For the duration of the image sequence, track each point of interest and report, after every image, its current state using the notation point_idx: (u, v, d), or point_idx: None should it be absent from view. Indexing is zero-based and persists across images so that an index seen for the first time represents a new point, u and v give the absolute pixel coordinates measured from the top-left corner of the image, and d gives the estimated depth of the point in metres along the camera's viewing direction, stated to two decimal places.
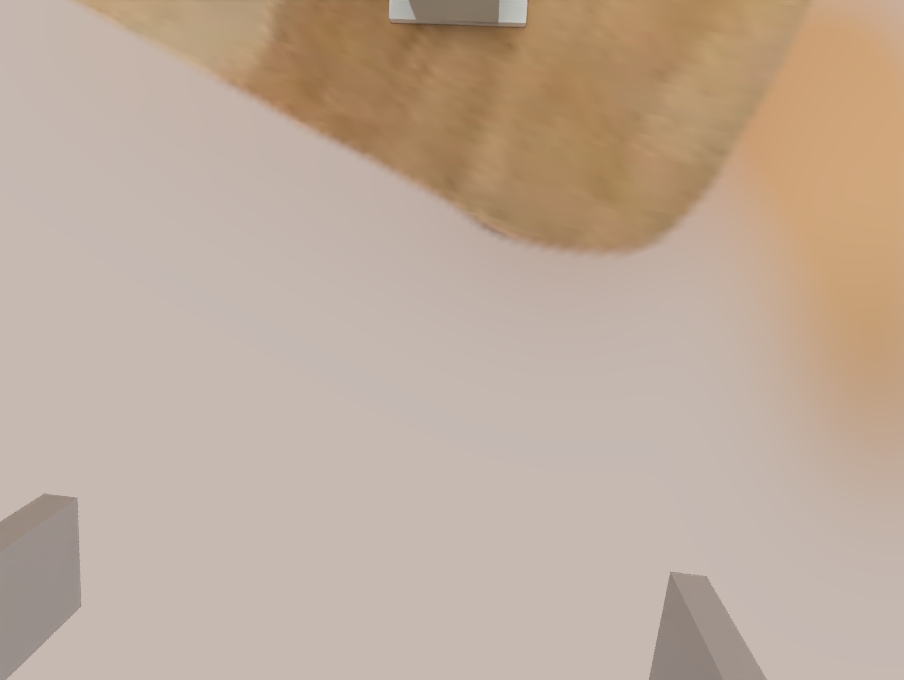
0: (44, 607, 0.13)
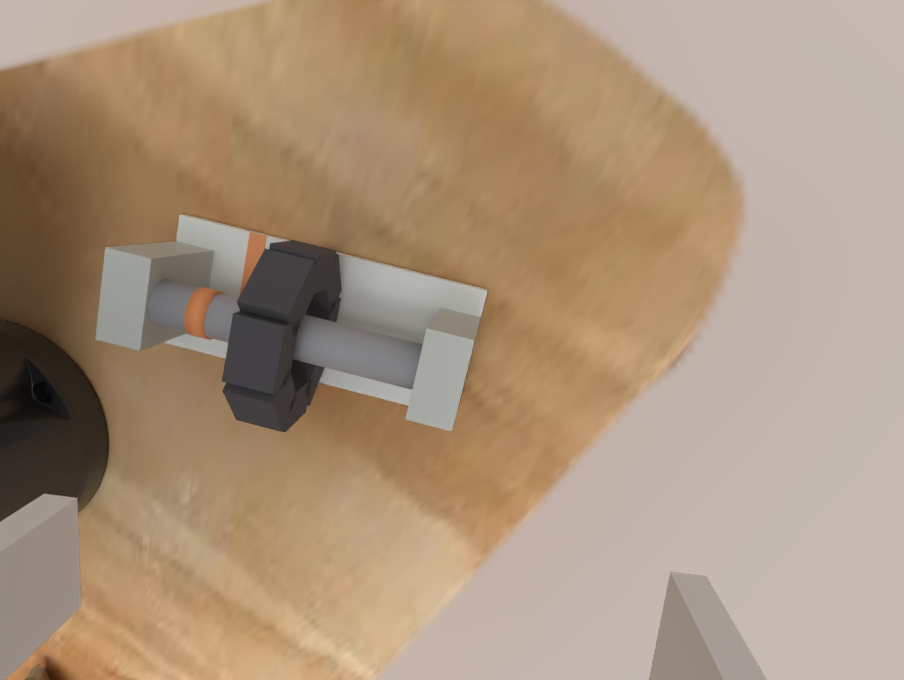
0: (44, 607, 0.13)
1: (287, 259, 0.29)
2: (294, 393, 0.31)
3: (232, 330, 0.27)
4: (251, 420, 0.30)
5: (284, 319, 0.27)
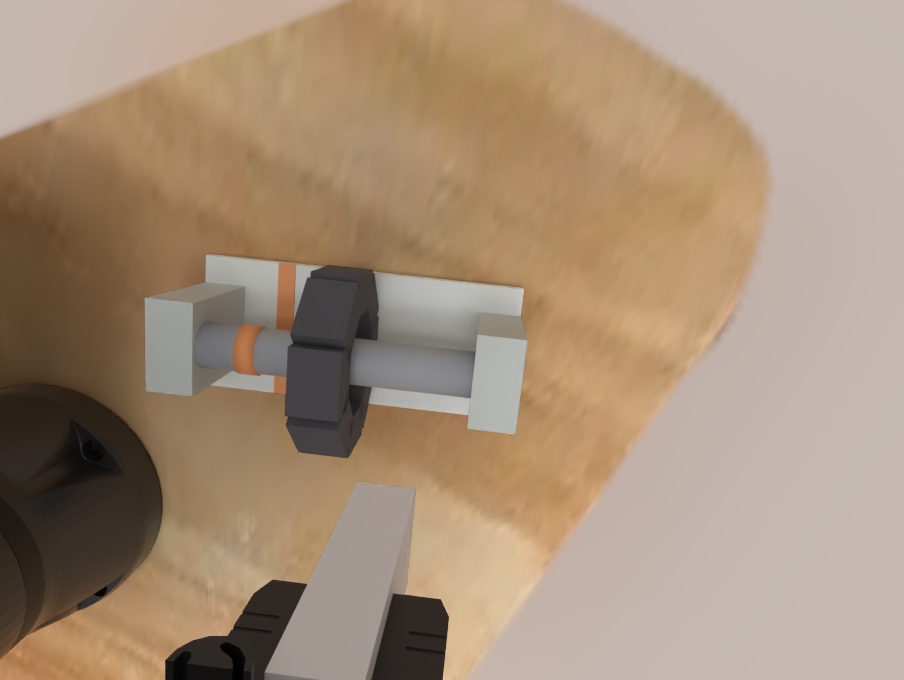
0: None
1: (332, 285, 0.28)
2: (352, 417, 0.31)
3: (289, 363, 0.27)
4: (314, 450, 0.30)
5: (339, 346, 0.27)
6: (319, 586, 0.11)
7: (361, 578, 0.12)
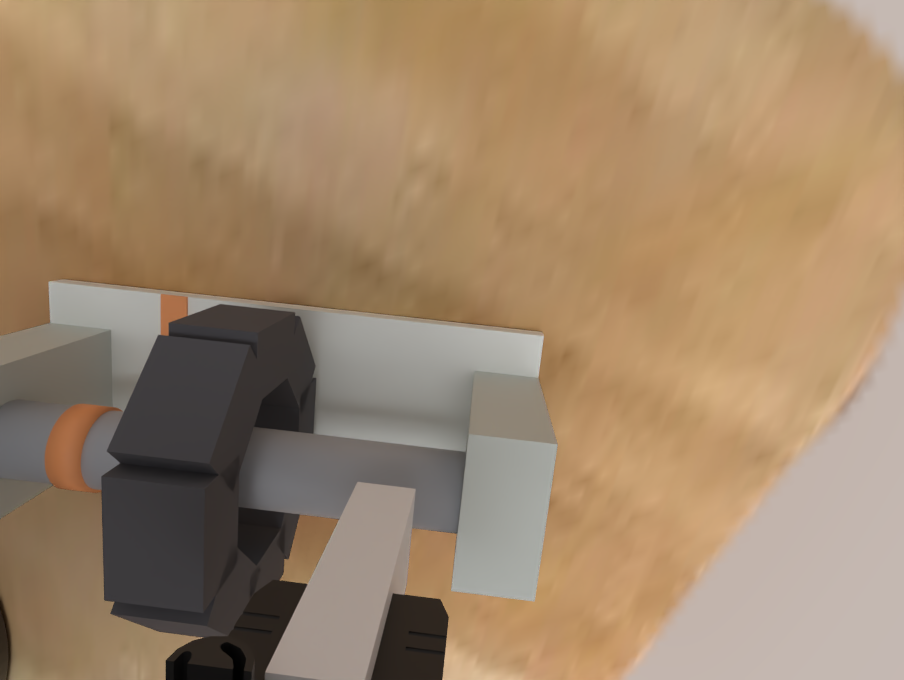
0: None
1: (201, 349, 0.16)
2: (254, 568, 0.18)
3: (106, 507, 0.14)
4: (183, 633, 0.17)
5: (205, 470, 0.14)
6: (319, 586, 0.11)
7: (361, 578, 0.12)
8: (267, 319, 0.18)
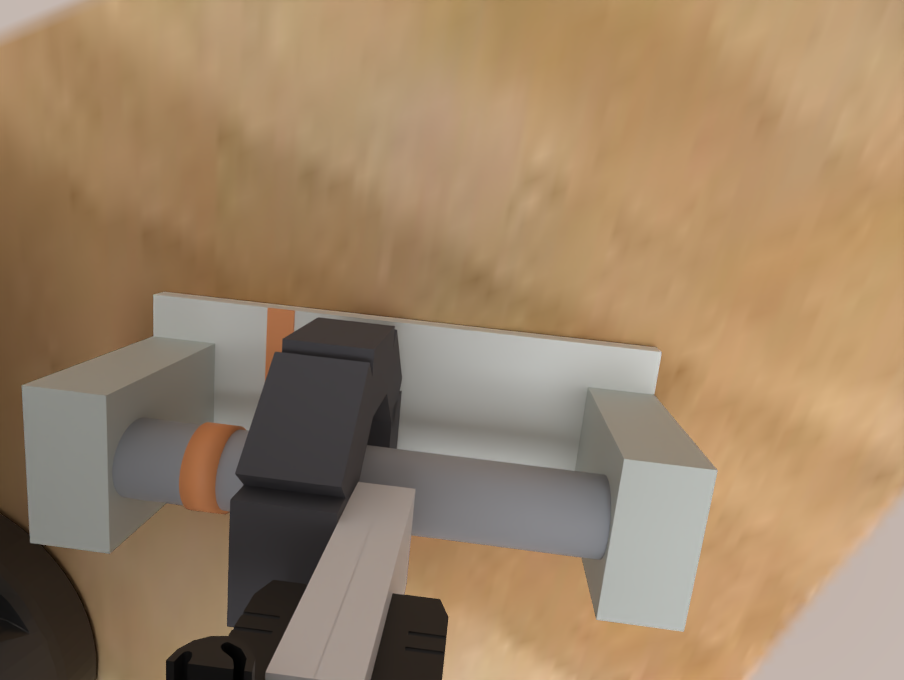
0: None
1: (321, 368, 0.15)
2: None
3: (234, 531, 0.14)
4: None
5: (332, 493, 0.14)
6: (319, 586, 0.11)
7: (361, 578, 0.12)
8: (373, 334, 0.17)
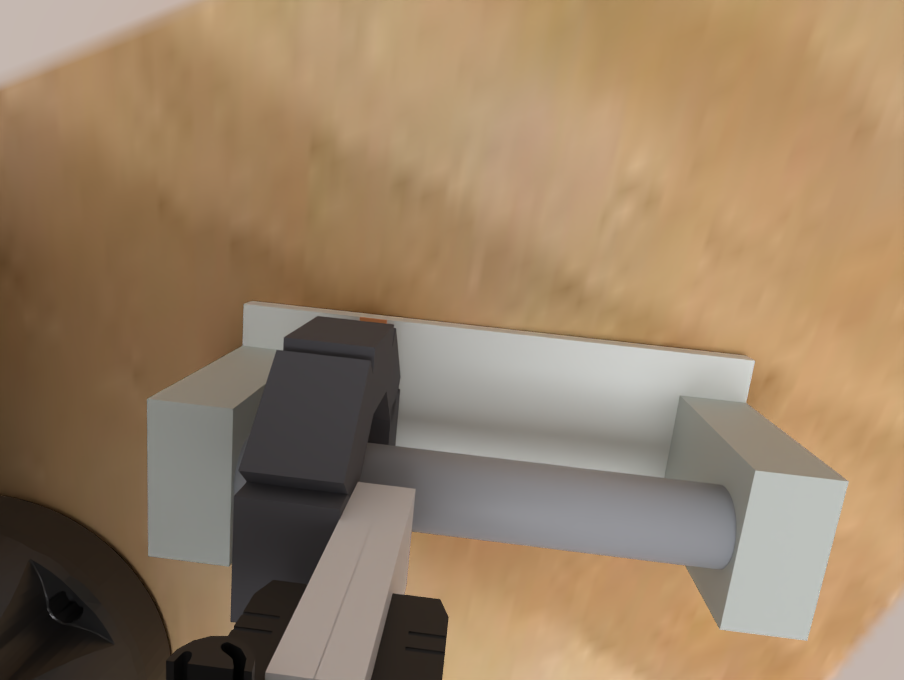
0: None
1: (322, 365, 0.15)
2: None
3: (237, 527, 0.14)
4: None
5: (334, 490, 0.14)
6: (320, 586, 0.11)
7: (361, 578, 0.12)
8: (373, 332, 0.18)
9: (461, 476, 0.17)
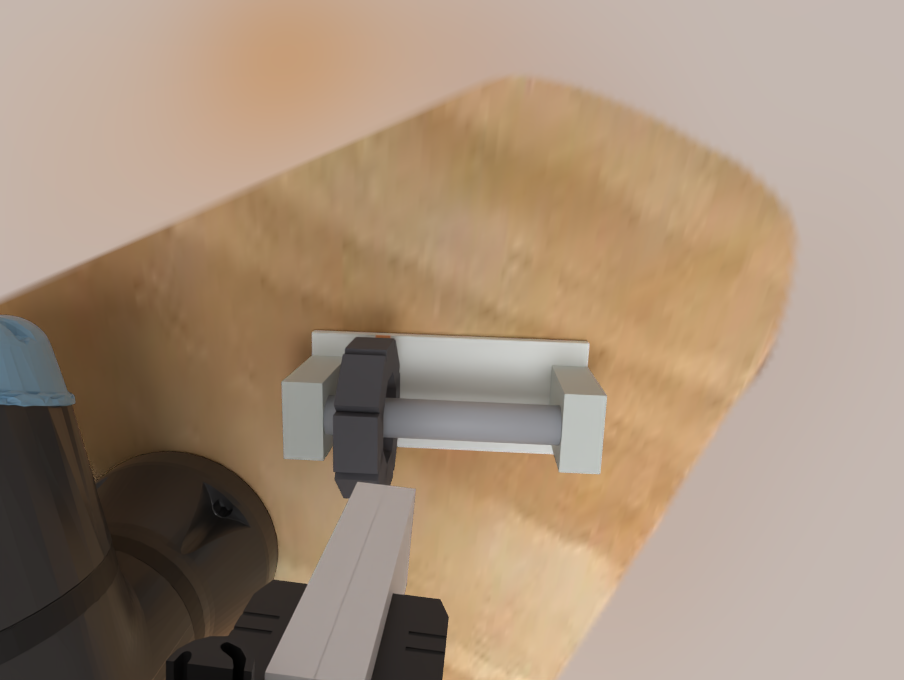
0: None
1: (364, 359, 0.34)
2: (386, 465, 0.37)
3: (334, 429, 0.33)
4: None
5: (374, 411, 0.33)
6: (319, 586, 0.11)
7: (361, 578, 0.12)
8: (385, 343, 0.37)
9: (431, 408, 0.36)
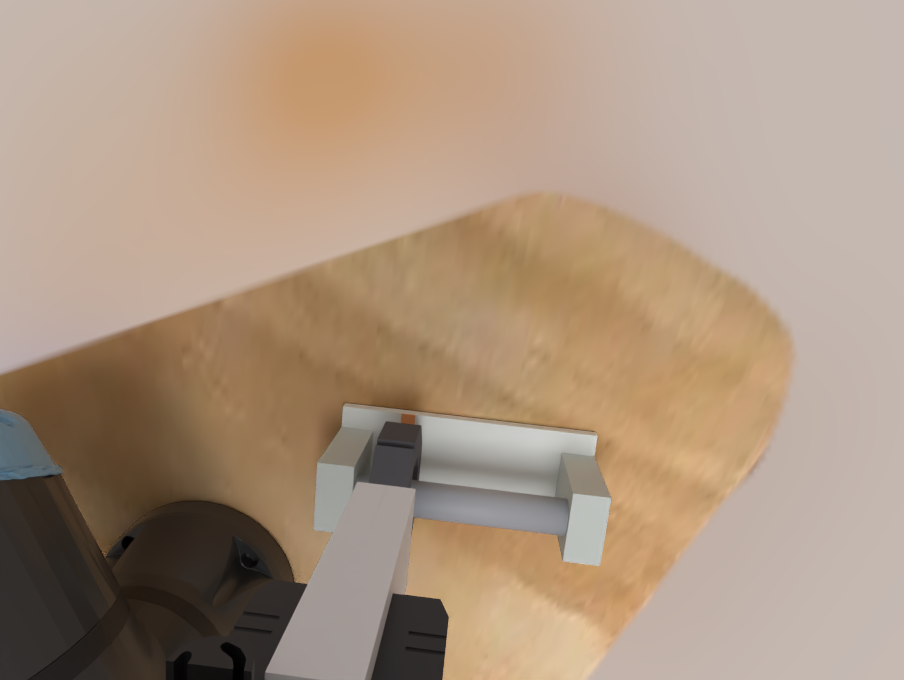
0: None
1: (394, 451, 0.38)
2: None
3: None
4: None
5: None
6: (319, 586, 0.11)
7: (361, 578, 0.12)
8: (413, 432, 0.40)
9: (451, 495, 0.40)
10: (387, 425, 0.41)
